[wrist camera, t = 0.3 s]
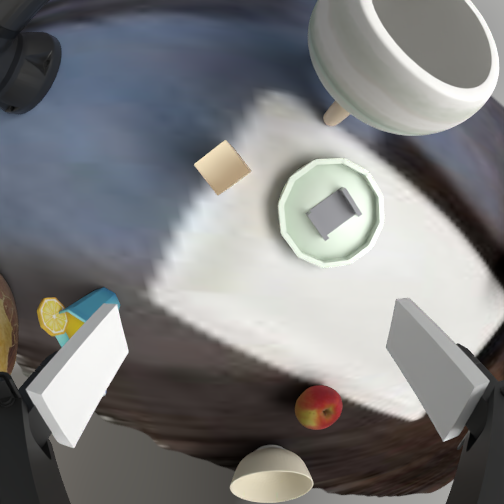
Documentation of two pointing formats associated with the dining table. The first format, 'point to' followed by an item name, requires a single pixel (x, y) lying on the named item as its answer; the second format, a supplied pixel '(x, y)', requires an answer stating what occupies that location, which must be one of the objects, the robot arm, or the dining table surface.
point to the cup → (72, 313)
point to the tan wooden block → (222, 167)
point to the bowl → (271, 476)
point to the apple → (318, 407)
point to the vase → (7, 328)
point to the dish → (331, 212)
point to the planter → (403, 62)
